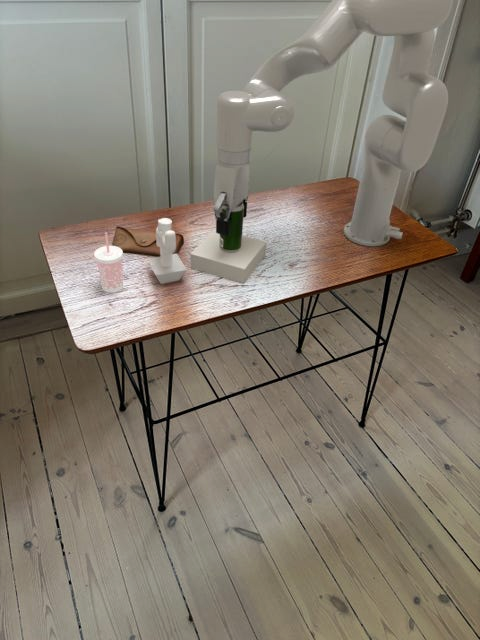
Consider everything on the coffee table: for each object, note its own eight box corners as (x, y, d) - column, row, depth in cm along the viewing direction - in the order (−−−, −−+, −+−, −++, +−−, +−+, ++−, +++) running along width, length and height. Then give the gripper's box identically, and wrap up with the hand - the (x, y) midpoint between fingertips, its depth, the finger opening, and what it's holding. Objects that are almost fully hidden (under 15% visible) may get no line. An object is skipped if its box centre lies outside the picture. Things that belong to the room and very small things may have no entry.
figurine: (176, 264, 125) (174, 208, 115) (188, 285, 118) (187, 227, 109) (147, 269, 122) (142, 212, 113) (157, 291, 116) (154, 233, 106)
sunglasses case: (106, 252, 127) (108, 225, 126) (115, 252, 134) (117, 226, 133) (177, 260, 126) (179, 232, 125) (182, 259, 133) (185, 233, 132)
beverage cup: (93, 286, 116) (84, 232, 107) (115, 275, 120) (108, 222, 111) (110, 298, 113) (102, 243, 104) (132, 286, 117) (126, 232, 108)
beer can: (226, 255, 122) (229, 209, 114) (215, 244, 125) (216, 199, 117) (245, 249, 124) (248, 204, 116) (233, 239, 127) (236, 195, 120)
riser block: (265, 255, 130) (266, 241, 127) (243, 283, 120) (244, 269, 117) (215, 241, 134) (215, 228, 131) (190, 267, 124) (190, 253, 121)
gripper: (234, 138, 117) (232, 206, 128) (200, 165, 105) (200, 237, 115) (264, 144, 115) (259, 213, 126) (233, 172, 102) (231, 246, 113)
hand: (231, 224), depth 121 cm, fingers open, 9 cm apart
